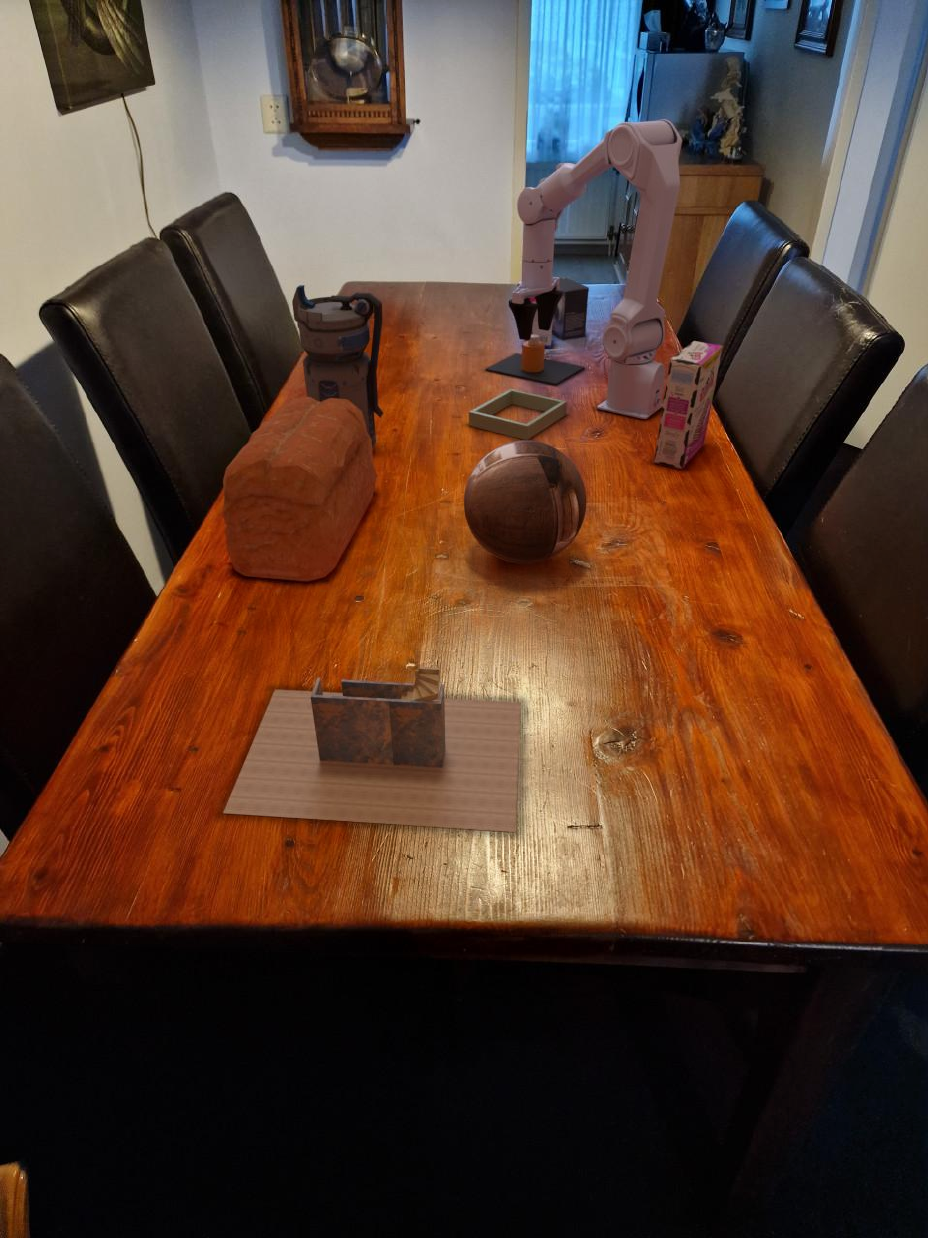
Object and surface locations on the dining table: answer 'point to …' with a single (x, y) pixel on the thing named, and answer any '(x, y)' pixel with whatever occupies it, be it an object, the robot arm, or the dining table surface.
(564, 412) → the square frame
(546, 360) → the mat
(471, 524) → the wooden sphere
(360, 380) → the grenade canister
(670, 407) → the candy bar box
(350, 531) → the bread
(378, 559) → the dining table surface
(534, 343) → the bottle
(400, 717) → the architectural model on board
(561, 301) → the small box
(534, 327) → the supplement box
